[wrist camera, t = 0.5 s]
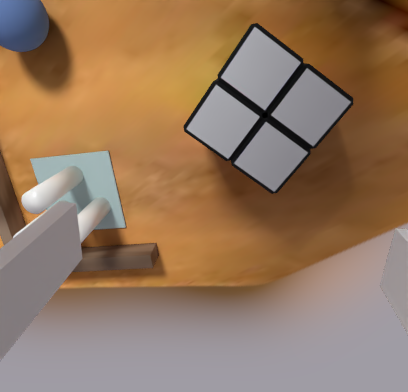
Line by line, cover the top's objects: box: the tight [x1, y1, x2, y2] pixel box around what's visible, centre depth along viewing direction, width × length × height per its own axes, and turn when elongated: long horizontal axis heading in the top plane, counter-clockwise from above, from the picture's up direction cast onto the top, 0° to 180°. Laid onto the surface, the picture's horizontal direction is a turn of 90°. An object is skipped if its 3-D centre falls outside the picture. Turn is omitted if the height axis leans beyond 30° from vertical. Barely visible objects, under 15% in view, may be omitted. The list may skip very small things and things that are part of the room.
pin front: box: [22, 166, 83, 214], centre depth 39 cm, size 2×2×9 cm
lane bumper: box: [0, 152, 159, 272], centre depth 40 cm, size 33×19×3 cm, turn 7°
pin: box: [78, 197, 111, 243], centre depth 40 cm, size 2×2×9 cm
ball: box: [0, 0, 49, 52], centre depth 34 cm, size 6×6×6 cm
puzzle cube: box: [184, 23, 353, 194], centre depth 33 cm, size 10×10×10 cm
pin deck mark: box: [31, 151, 126, 230], centre depth 44 cm, size 10×10×1 cm
